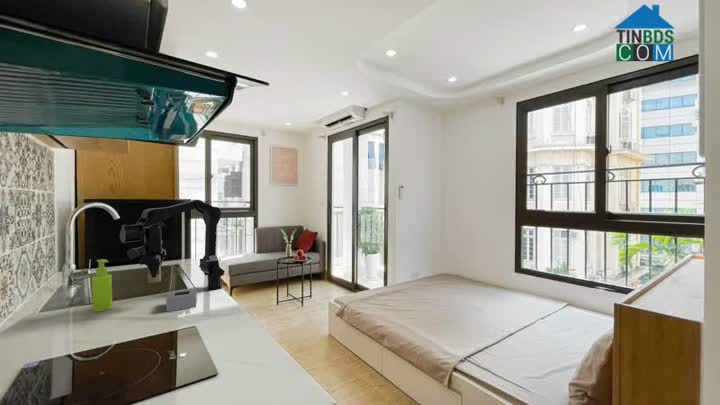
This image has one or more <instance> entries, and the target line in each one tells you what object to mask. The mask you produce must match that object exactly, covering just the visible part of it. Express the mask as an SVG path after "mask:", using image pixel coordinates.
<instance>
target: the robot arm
mask: <svg viewBox="0 0 720 405" xmlns="http://www.w3.org/2000/svg"><path fill="white" fill-rule="evenodd" d="M192 210H195V211H197V212H198V213H199V214H202V220H203V222H204V225H205V233H204V234H205V235H204V236H205V238H204V239H205V240H204V241H205V242H204V256H203V258H199V265H198V268H200V271H201V272H202V273H203V274H204V276H207V286H206V291H213V290H220V289H223V285H222V282H221V281H222V279H221V277H223V276H224V275H225V270H224V269H222V268H221V267H220V261H219V259H218V256H217V232H218V230H217V229H218V228H217V226H218V224H219V223H220V220H221V215H222V210H221V208H220V207H218V206H213V205H211V204H208V203H206V202H204V201H202V200H201V199H192V200H188V201H185V202H181V203H177V204H174V205H170V206H165V207H154V208H146V209H144V210H143V211H142V213H141V217H140V218H139V219H138V220H137V222H136V223H135V224H129V225H128V224H122V225H121V229H120V231H119V232H120V233H119V240H120V242H121V243H123V244H126V243H134V242H140V241H142V240H143V239H144V242H143V243H142V245H141V246H139V247H136V248H135V247H132V248H130V249H128V251H127V252H126V256H127V257H128V259H129V260H135V259H136V258H138V257H140V256H142V257H141V258H140V259H139V265H141V266H142V265H145V266H148V268H149V270H150V273H151V276H152V278H155V277H156V275H157V272H158V269H159V267H160V266H162V264H163V262H164V259H165V256H166V255H167V250H166V249H165V248H163V240H162V228H167V227H168V226H167V225H166V224H165V223H164V222H163V221H165V220H167V219H168V218H169V217H172V216H175V215H178V214H183V213H186V212H189V211H192Z"/></svg>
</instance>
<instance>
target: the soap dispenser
mask: <svg viewBox="0 0 720 405" xmlns="http://www.w3.org/2000/svg"><path fill="white" fill-rule="evenodd" d="M96 262H98V266H97V268H95V276H93V277H92V278H91V289H92V311H93V312H94V313H96V312H97V313H98V312H99V313H100V312H104V311H109V310H111V309H112V308H113V283H112V282H113V280H112V279H113V278H112V274H108V267H107V266H106V265H105V263H109V260H107V259H104V258H102V259H96Z"/></svg>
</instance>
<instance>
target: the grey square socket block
mask: <svg viewBox="0 0 720 405" xmlns="http://www.w3.org/2000/svg"><path fill="white" fill-rule="evenodd" d="M197 290H198V289H197V287H193V288H187V289H186V288H185V289H179V290H171V291H169V292H168V294H167V297H166V299H165V301H166V302H165V303H166V304H165V306H166V312H175V311H181V310H187V309H192V308H193V309H194V308H196V307H197V303H198V302H197V301H198V291H197Z"/></svg>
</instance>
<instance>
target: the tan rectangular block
mask: <svg viewBox="0 0 720 405" xmlns="http://www.w3.org/2000/svg"><path fill="white" fill-rule="evenodd" d="M161 266H162V265H161ZM161 266H160V267H159V269H158V272H157V275H156V277H155V278H152V276H151V273H150V270H149V268H148V266H147V283H148V284H153V283H154V284H155V283H160V282H161V281H162V274H161V273H162V269H161Z"/></svg>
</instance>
